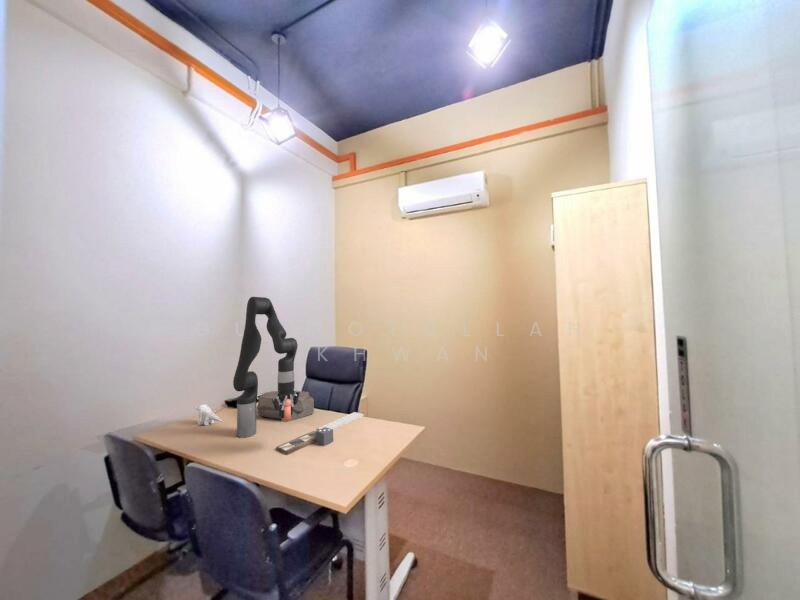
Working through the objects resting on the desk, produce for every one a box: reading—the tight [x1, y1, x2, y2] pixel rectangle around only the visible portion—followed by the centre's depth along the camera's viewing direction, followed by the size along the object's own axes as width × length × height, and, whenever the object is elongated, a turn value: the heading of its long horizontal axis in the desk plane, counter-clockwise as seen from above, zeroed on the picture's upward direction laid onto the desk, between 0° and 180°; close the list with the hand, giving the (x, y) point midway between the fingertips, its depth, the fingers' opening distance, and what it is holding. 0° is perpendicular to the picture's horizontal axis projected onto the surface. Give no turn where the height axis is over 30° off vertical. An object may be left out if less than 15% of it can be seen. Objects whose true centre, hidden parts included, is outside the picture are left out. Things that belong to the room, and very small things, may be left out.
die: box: [315, 427, 334, 447], centre depth 151 cm, size 6×6×6 cm
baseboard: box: [316, 410, 364, 431], centre depth 179 cm, size 30×3×10 cm
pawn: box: [281, 399, 292, 423], centre depth 144 cm, size 5×5×11 cm
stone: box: [256, 390, 315, 421], centre depth 195 cm, size 37×26×15 cm
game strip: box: [276, 430, 317, 456], centre depth 151 cm, size 9×22×2 cm, turn 145°
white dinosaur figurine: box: [193, 403, 224, 427], centre depth 179 cm, size 7×24×11 cm, turn 70°
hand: (286, 416), depth 144 cm, fingers closed on pawn, 4 cm apart
